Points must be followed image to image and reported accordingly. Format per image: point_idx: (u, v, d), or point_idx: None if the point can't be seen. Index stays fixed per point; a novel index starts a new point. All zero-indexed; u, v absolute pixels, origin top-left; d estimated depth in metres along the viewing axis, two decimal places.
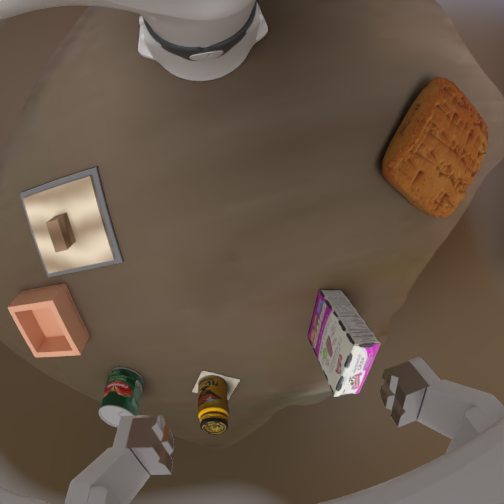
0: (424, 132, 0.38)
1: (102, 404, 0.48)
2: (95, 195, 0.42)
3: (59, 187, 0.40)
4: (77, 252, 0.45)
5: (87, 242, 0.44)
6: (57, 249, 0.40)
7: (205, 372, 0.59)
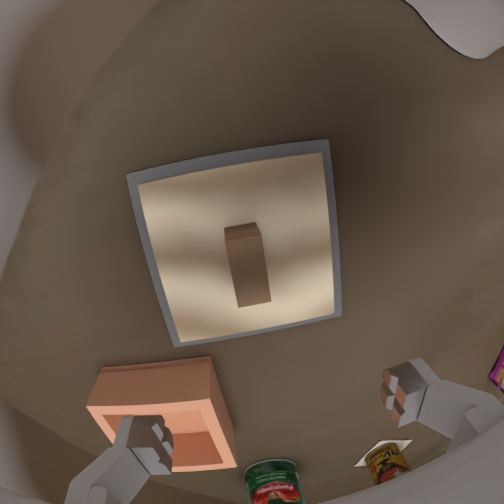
0: None
1: None
2: None
3: (245, 167, 0.22)
4: (262, 302, 0.26)
5: (290, 283, 0.25)
6: (244, 301, 0.21)
7: (381, 442, 0.38)
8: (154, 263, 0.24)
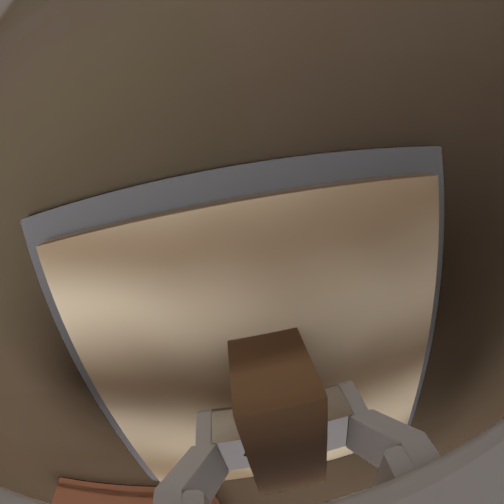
0: None
1: None
2: None
3: (279, 204, 0.09)
4: None
5: None
6: (274, 488, 0.08)
7: None
8: None
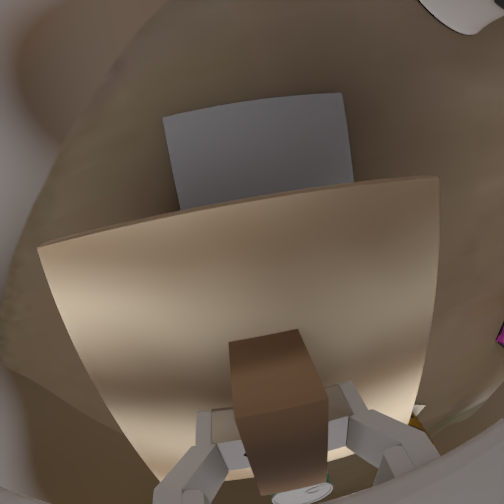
0: None
1: None
2: None
3: (280, 206, 0.09)
4: None
5: None
6: (275, 489, 0.08)
7: None
8: (185, 200, 0.26)
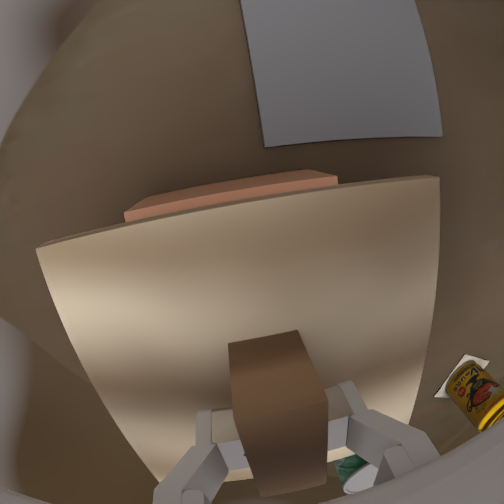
0: None
1: None
2: None
3: (279, 206, 0.09)
4: None
5: None
6: (274, 490, 0.08)
7: (465, 356, 0.31)
8: (256, 37, 0.18)
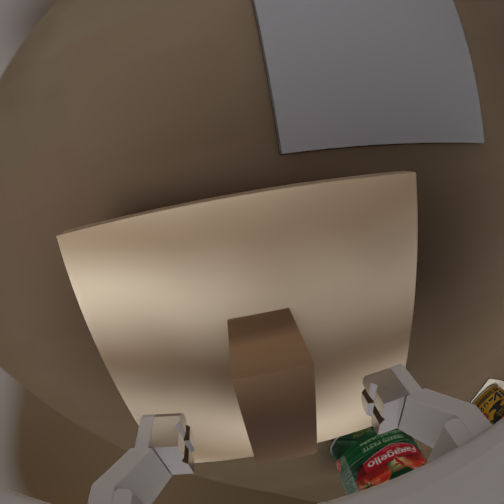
0: None
1: None
2: None
3: (272, 198, 0.10)
4: None
5: (340, 394, 0.14)
6: (269, 458, 0.10)
7: (489, 381, 0.26)
8: (267, 14, 0.13)
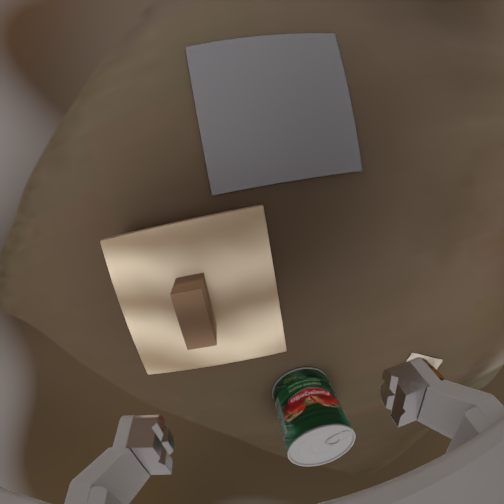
0: None
1: (300, 429, 0.28)
2: (268, 242, 0.26)
3: (191, 223, 0.24)
4: (216, 342, 0.27)
5: (241, 325, 0.27)
6: (192, 345, 0.23)
7: (413, 355, 0.39)
8: (202, 111, 0.27)
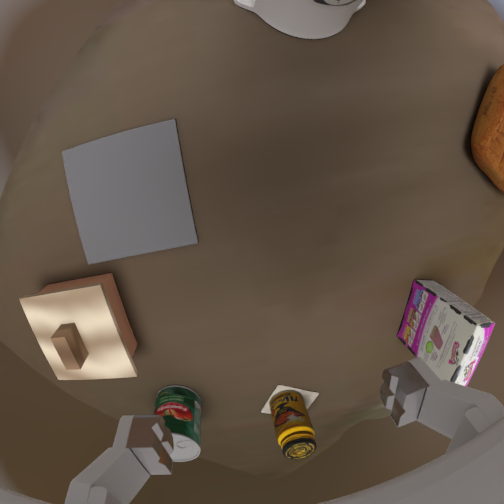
0: None
1: None
2: (109, 307, 0.34)
3: (62, 293, 0.33)
4: (91, 365, 0.36)
5: (103, 356, 0.36)
6: (68, 367, 0.32)
7: (281, 386, 0.49)
8: (75, 204, 0.36)
